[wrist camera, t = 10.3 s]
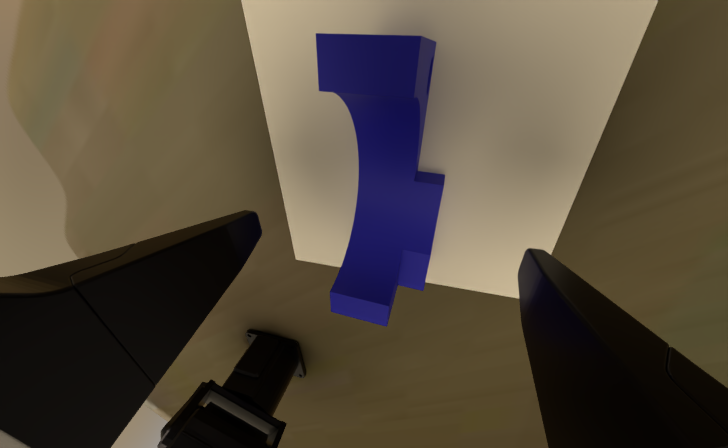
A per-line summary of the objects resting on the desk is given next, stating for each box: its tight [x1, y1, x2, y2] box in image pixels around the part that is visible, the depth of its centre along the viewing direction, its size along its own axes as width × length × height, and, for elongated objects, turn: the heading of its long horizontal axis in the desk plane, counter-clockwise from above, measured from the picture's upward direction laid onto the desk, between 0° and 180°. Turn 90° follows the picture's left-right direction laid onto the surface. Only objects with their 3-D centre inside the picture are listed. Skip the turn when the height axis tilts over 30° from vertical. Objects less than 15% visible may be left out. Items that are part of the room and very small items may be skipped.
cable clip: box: [316, 33, 445, 327], centre depth 13 cm, size 12×4×6 cm, turn 178°
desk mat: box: [241, 0, 658, 298], centre depth 15 cm, size 17×17×1 cm
